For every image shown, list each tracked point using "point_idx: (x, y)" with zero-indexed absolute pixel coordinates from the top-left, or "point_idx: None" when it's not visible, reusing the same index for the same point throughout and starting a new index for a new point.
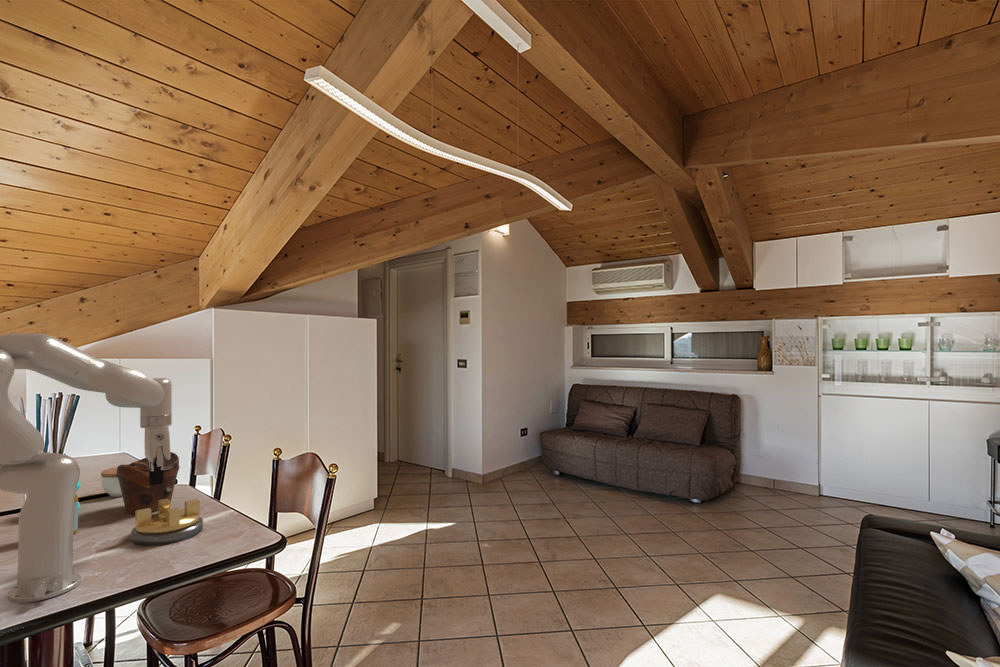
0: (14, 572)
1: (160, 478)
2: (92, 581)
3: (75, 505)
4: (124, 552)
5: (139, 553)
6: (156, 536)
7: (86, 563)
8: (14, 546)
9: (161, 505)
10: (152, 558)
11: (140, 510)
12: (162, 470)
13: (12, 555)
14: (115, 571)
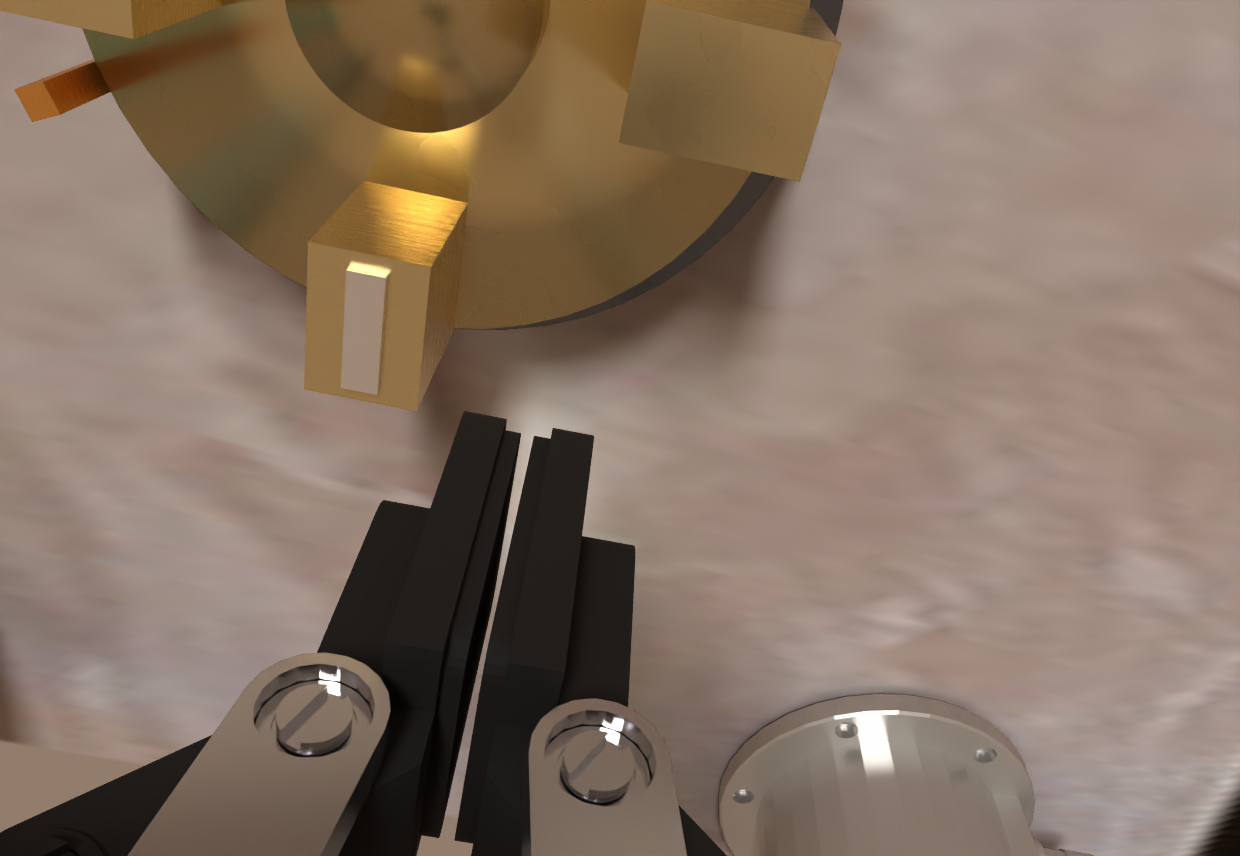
0: (455, 801)
1: (629, 577)
2: (1002, 664)
3: None
4: (654, 402)
5: (788, 347)
6: (727, 219)
7: (649, 599)
8: None
9: (151, 15)
10: (1006, 331)
11: (376, 369)
12: (560, 669)
13: (132, 751)
14: (982, 554)
